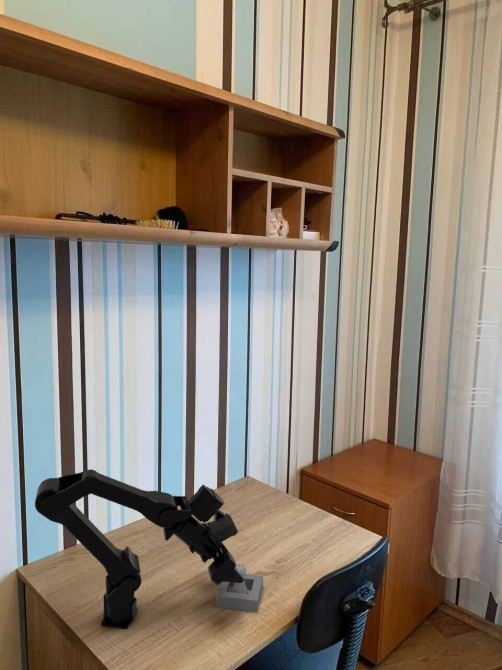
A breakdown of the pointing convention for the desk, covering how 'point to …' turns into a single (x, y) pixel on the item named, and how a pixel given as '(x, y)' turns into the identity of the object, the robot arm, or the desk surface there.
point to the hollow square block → (241, 595)
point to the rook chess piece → (240, 586)
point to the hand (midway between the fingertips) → (237, 570)
